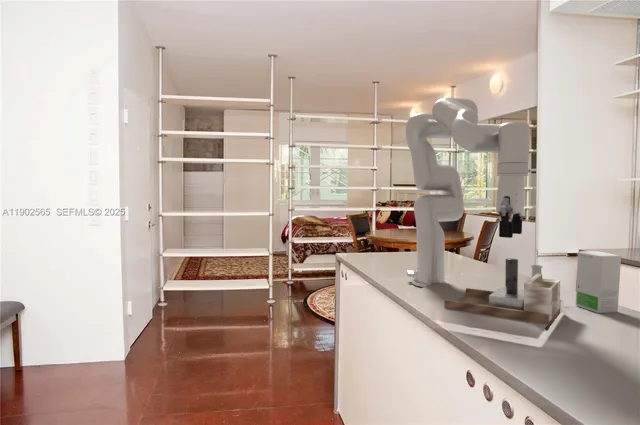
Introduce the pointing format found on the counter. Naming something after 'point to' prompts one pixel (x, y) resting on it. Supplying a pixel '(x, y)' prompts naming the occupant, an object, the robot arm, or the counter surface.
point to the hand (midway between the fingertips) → (510, 235)
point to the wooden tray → (537, 302)
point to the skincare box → (598, 281)
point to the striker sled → (509, 289)
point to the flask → (536, 270)
